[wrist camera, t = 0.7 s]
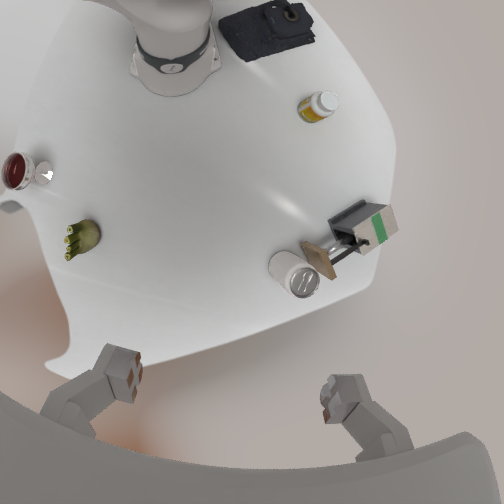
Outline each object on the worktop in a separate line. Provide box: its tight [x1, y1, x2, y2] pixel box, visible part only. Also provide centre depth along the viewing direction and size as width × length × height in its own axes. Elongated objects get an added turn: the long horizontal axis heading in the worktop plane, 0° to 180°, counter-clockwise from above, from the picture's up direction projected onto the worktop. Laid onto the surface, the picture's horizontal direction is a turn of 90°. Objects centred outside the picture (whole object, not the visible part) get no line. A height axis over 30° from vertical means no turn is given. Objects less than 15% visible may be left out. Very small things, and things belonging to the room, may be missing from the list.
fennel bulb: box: [64, 220, 100, 261], centre depth 42 cm, size 6×5×12 cm
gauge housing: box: [328, 200, 398, 256], centre depth 55 cm, size 10×7×10 cm, turn 118°
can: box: [269, 251, 320, 298], centre depth 53 cm, size 6×6×12 cm
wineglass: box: [1, 152, 52, 190], centre depth 36 cm, size 7×7×12 cm
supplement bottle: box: [298, 91, 339, 123], centre depth 48 cm, size 5×5×10 cm
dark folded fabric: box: [219, 0, 315, 62], centre depth 44 cm, size 15×22×5 cm
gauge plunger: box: [301, 233, 370, 280], centre depth 52 cm, size 10×6×10 cm, turn 118°
